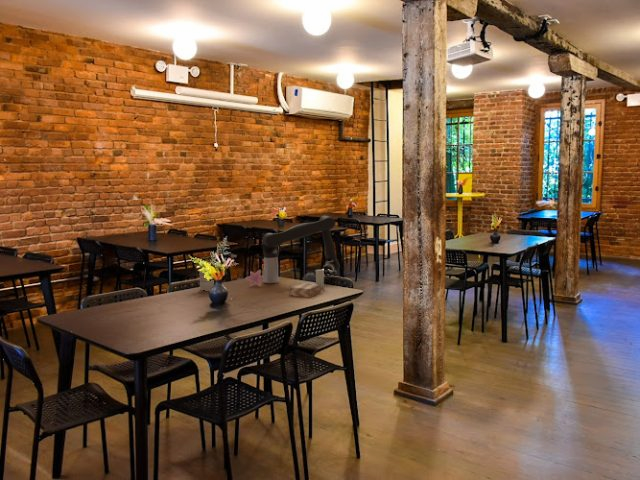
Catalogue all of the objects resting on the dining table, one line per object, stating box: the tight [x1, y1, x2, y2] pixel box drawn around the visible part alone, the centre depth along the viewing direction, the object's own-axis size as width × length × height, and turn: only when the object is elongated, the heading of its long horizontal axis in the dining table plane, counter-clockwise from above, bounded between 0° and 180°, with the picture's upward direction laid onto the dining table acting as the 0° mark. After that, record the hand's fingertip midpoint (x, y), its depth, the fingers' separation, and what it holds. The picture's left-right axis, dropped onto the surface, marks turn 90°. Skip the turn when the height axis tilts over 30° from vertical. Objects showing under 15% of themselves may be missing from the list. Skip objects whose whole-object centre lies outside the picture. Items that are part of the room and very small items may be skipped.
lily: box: [244, 269, 265, 287], centre depth 388 cm, size 12×12×10 cm
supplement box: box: [199, 262, 214, 292], centre depth 376 cm, size 10×9×17 cm
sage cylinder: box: [315, 269, 325, 291], centre depth 373 cm, size 5×5×12 cm
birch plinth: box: [288, 282, 321, 298], centre depth 359 cm, size 14×14×5 cm
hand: (323, 274), depth 384 cm, fingers open, 8 cm apart
